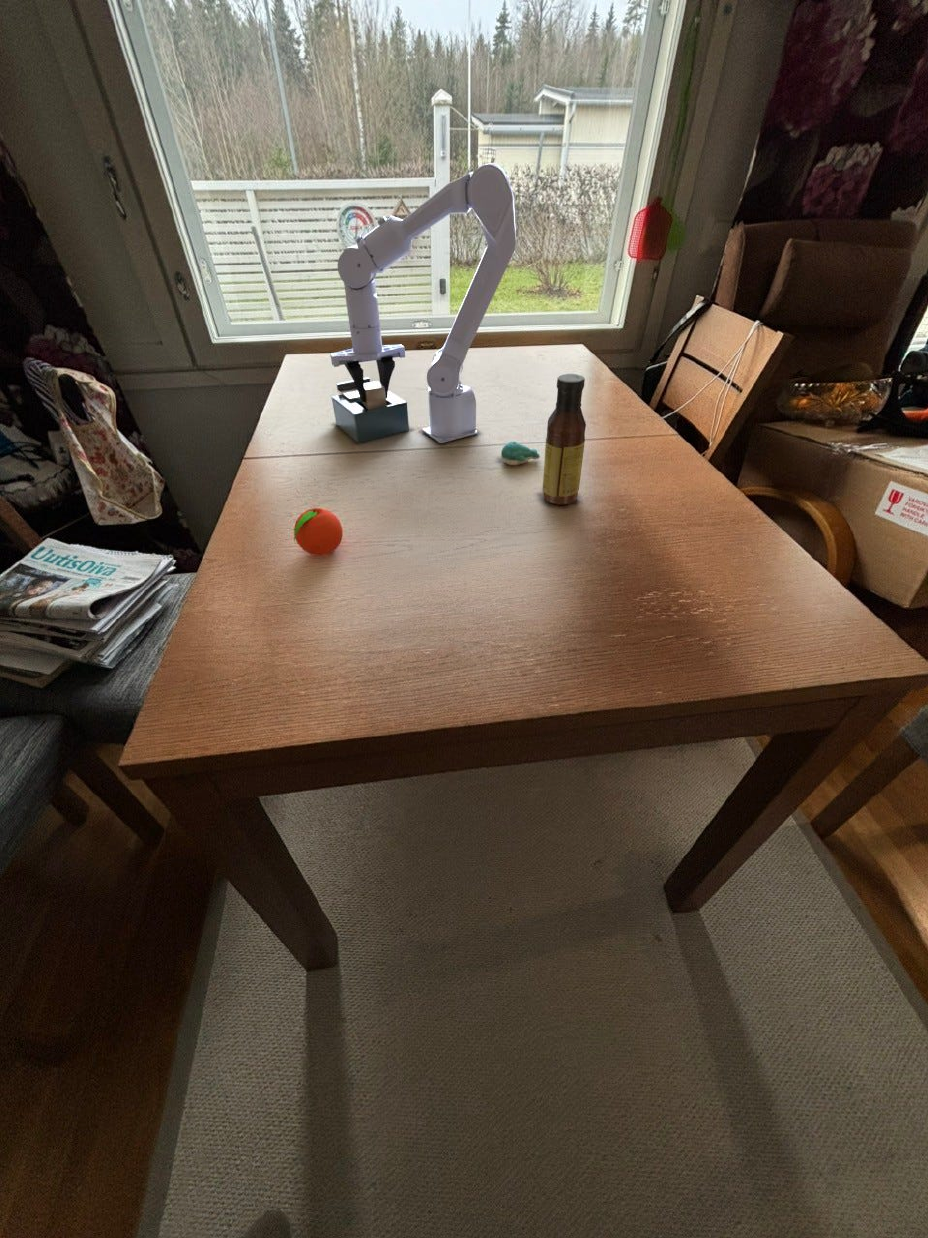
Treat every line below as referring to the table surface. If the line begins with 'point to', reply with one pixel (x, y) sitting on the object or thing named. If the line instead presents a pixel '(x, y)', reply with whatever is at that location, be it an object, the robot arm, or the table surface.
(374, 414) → the sliding lid box
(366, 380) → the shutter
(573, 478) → the sauce bottle
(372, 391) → the block
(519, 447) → the whale figurine
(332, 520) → the clementine
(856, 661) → the table surface
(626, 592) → the table surface
